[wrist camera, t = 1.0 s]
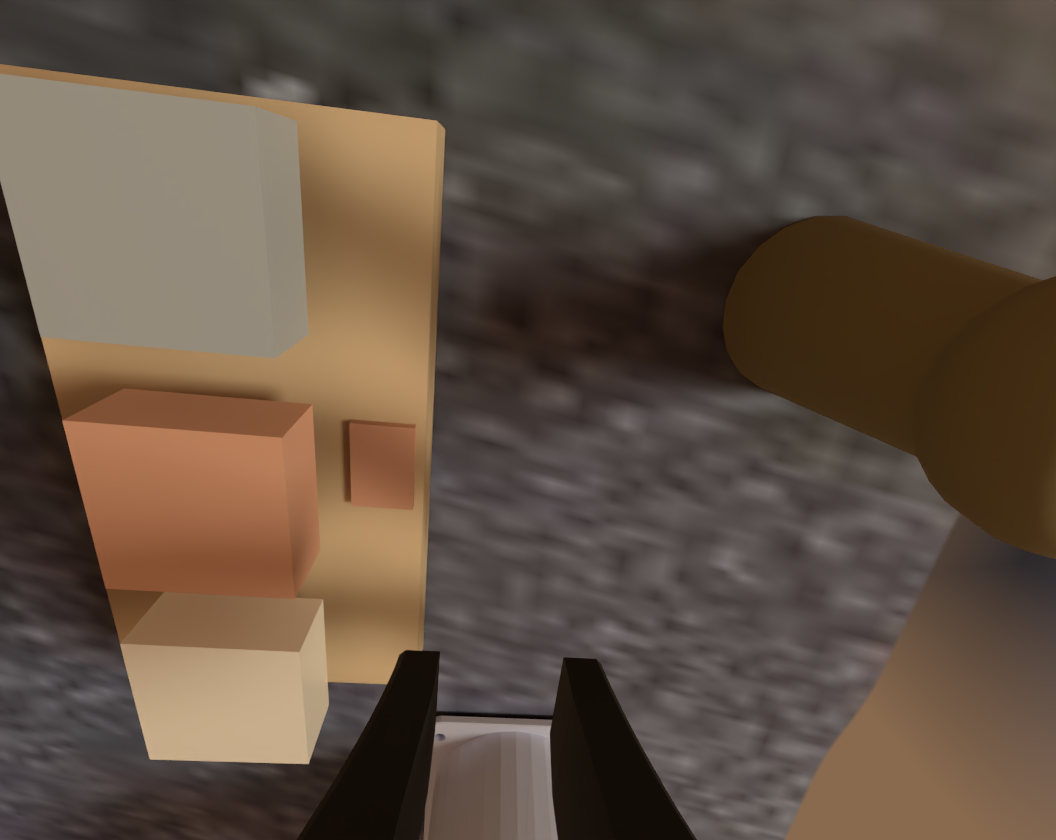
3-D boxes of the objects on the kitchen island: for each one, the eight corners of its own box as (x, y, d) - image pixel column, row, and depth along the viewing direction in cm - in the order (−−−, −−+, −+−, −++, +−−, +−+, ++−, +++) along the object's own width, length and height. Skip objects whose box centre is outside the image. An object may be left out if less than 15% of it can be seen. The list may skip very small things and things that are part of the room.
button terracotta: (320, 549, 17) (295, 599, 15) (155, 539, 16) (105, 588, 14) (312, 404, 15) (282, 437, 13) (124, 388, 14) (62, 420, 12)
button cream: (328, 704, 19) (308, 764, 17) (187, 699, 19) (149, 759, 17) (322, 599, 17) (299, 652, 15) (165, 590, 17) (120, 643, 15)
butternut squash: (934, 307, 18) (1486, 454, 8) (788, 425, 19) (1093, 676, 9) (838, 171, 16) (1400, 134, 6) (686, 314, 18) (928, 475, 8)
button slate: (308, 334, 14) (275, 358, 12) (109, 315, 14) (40, 337, 12) (296, 121, 12) (255, 106, 10) (64, 91, 12) (-29, 70, 10)
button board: (423, 646, 23) (411, 714, 20) (159, 633, 22) (104, 703, 19) (445, 129, 15) (430, 113, 12) (37, 77, 14) (-87, 46, 11)
